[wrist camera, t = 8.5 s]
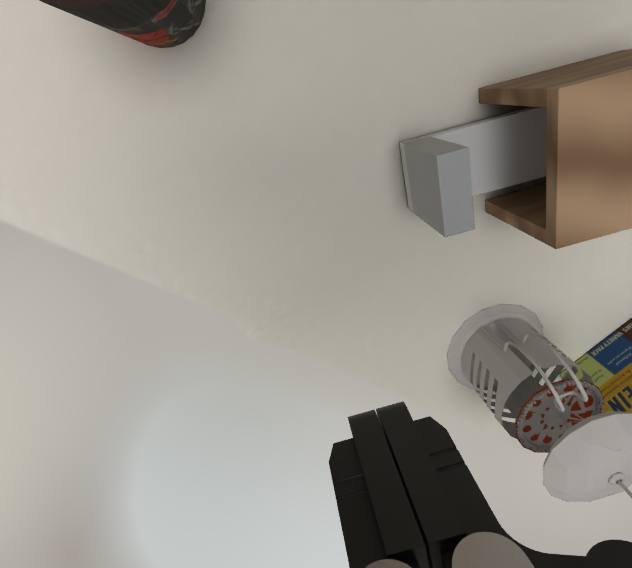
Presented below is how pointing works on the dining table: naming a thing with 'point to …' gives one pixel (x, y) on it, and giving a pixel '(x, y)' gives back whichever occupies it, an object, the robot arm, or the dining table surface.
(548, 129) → the tunnel
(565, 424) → the french press
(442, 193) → the sled
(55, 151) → the dining table surface
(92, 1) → the deodorant
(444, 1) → the dining table surface
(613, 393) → the protein box
